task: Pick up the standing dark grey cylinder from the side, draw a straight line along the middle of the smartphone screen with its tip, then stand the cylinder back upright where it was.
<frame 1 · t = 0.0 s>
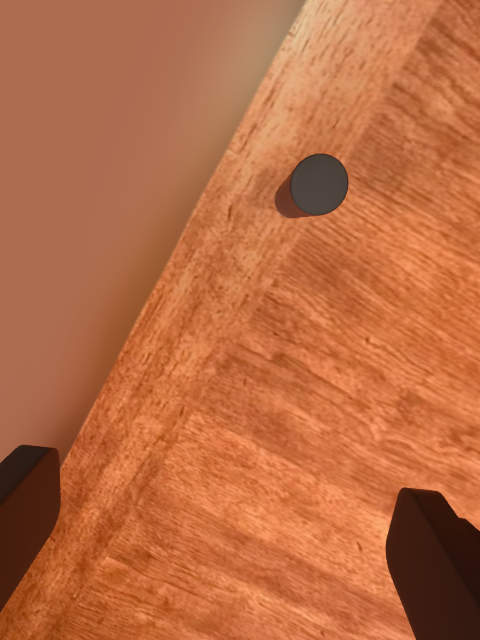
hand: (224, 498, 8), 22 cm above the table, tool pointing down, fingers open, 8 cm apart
dark grey cylinder: (290, 200, 28), on the table
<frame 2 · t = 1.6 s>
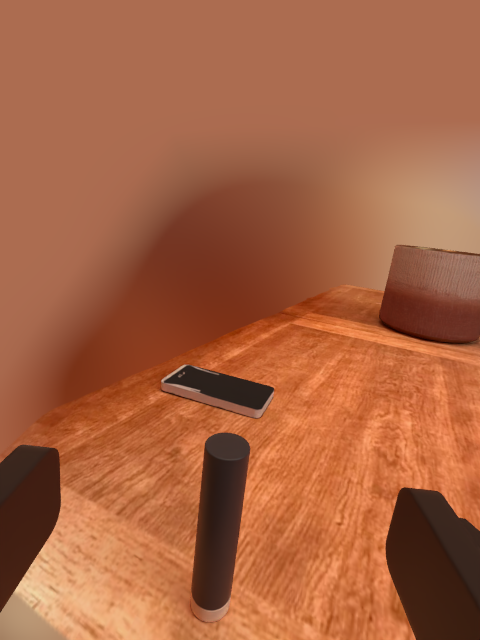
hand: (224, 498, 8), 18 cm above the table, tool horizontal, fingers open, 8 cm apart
planter: (425, 330, 101), on the table
smartphone: (217, 394, 52), on the table
dark grey cylinder: (209, 601, 24), on the table
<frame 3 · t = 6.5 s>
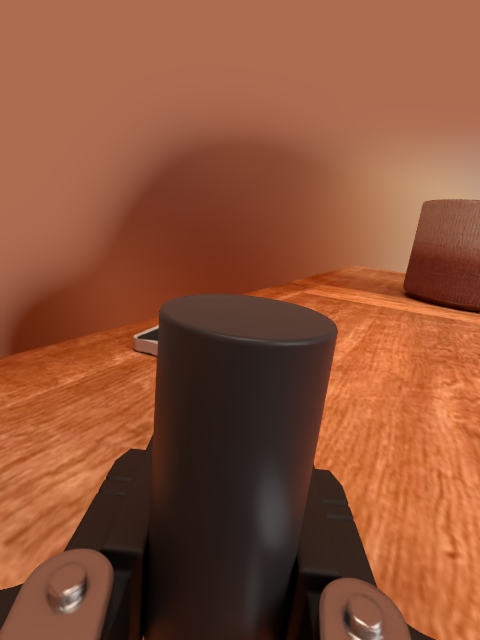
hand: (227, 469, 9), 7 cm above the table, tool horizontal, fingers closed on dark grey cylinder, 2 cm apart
planter: (458, 303, 86), on the table
smartphone: (214, 356, 37), on the table
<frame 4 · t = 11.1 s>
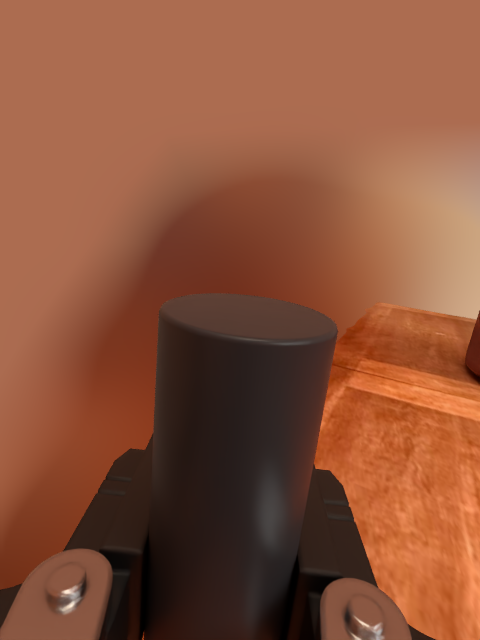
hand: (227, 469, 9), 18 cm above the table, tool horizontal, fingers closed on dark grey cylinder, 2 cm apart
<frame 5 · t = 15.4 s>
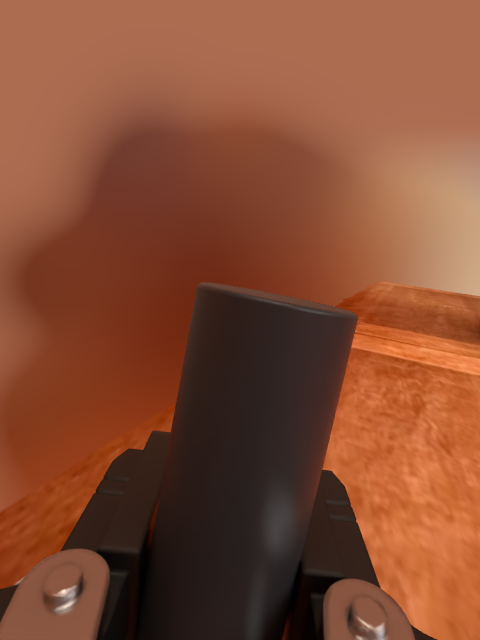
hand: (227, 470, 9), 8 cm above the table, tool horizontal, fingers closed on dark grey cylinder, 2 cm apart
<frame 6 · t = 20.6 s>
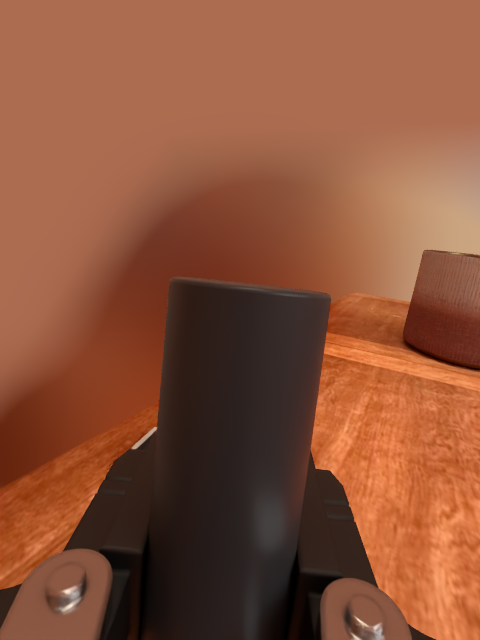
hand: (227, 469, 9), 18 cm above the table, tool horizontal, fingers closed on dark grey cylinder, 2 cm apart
planter: (459, 353, 84), on the table
when the fingers open (7 cm above the table, at t = 24.6 s): dark grey cylinder stays where it is, on the table.
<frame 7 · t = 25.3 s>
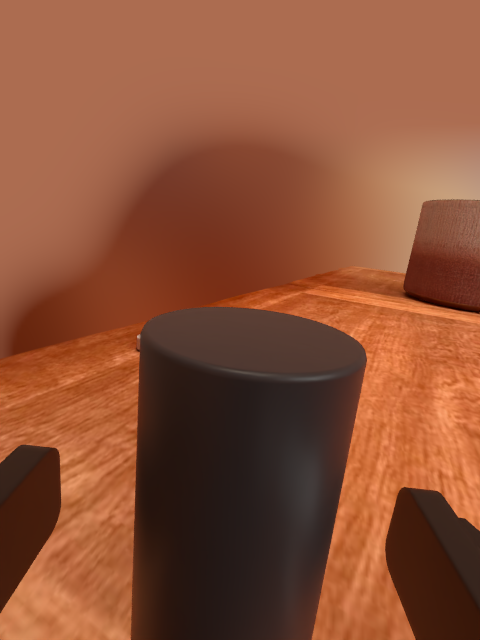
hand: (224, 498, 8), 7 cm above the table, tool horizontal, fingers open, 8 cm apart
planter: (458, 303, 86), on the table
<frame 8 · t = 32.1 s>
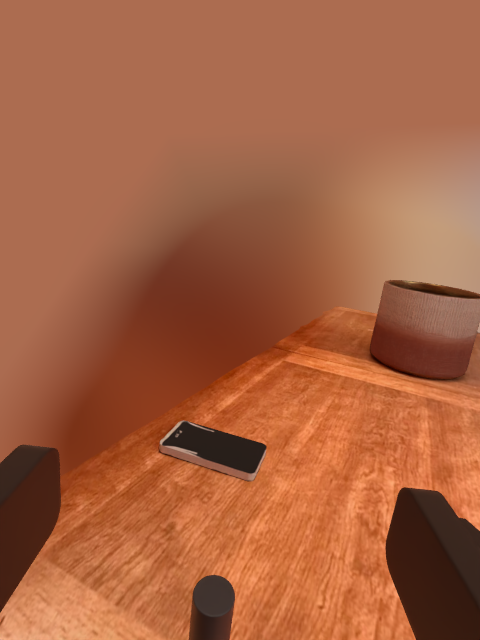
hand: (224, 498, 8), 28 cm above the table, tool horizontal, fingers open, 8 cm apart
planter: (414, 364, 104), on the table
smartphone: (213, 452, 55), on the table
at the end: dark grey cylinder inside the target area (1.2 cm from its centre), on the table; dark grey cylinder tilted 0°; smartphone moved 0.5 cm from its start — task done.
